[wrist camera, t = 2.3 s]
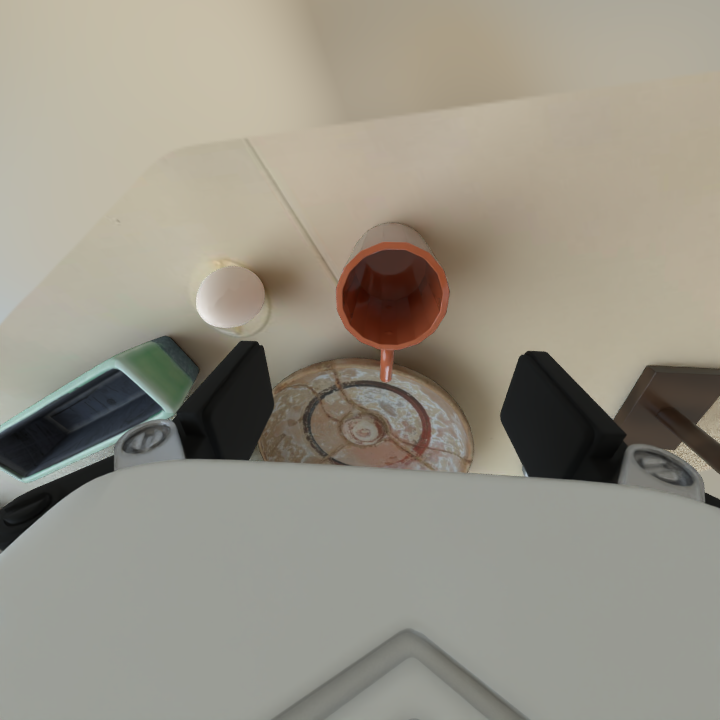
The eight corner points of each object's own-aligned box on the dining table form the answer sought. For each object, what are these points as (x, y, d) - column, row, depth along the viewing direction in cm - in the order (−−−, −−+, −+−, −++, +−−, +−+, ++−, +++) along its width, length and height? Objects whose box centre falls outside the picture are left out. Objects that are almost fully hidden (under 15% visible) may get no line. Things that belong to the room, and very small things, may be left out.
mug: (350, 221, 24) (333, 240, 16) (435, 223, 23) (458, 243, 16) (352, 338, 29) (340, 393, 22) (420, 340, 29) (431, 398, 21)
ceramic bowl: (436, 308, 27) (445, 332, 23) (479, 469, 38) (490, 505, 34) (232, 372, 33) (209, 400, 29) (320, 495, 44) (313, 529, 40)
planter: (78, 441, 42) (25, 486, 36) (29, 406, 39) (-38, 448, 32) (216, 372, 33) (178, 415, 27) (168, 320, 30) (112, 355, 24)
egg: (215, 278, 27) (163, 307, 21) (247, 247, 26) (202, 268, 19) (252, 316, 29) (214, 353, 23) (284, 289, 27) (254, 322, 21)
